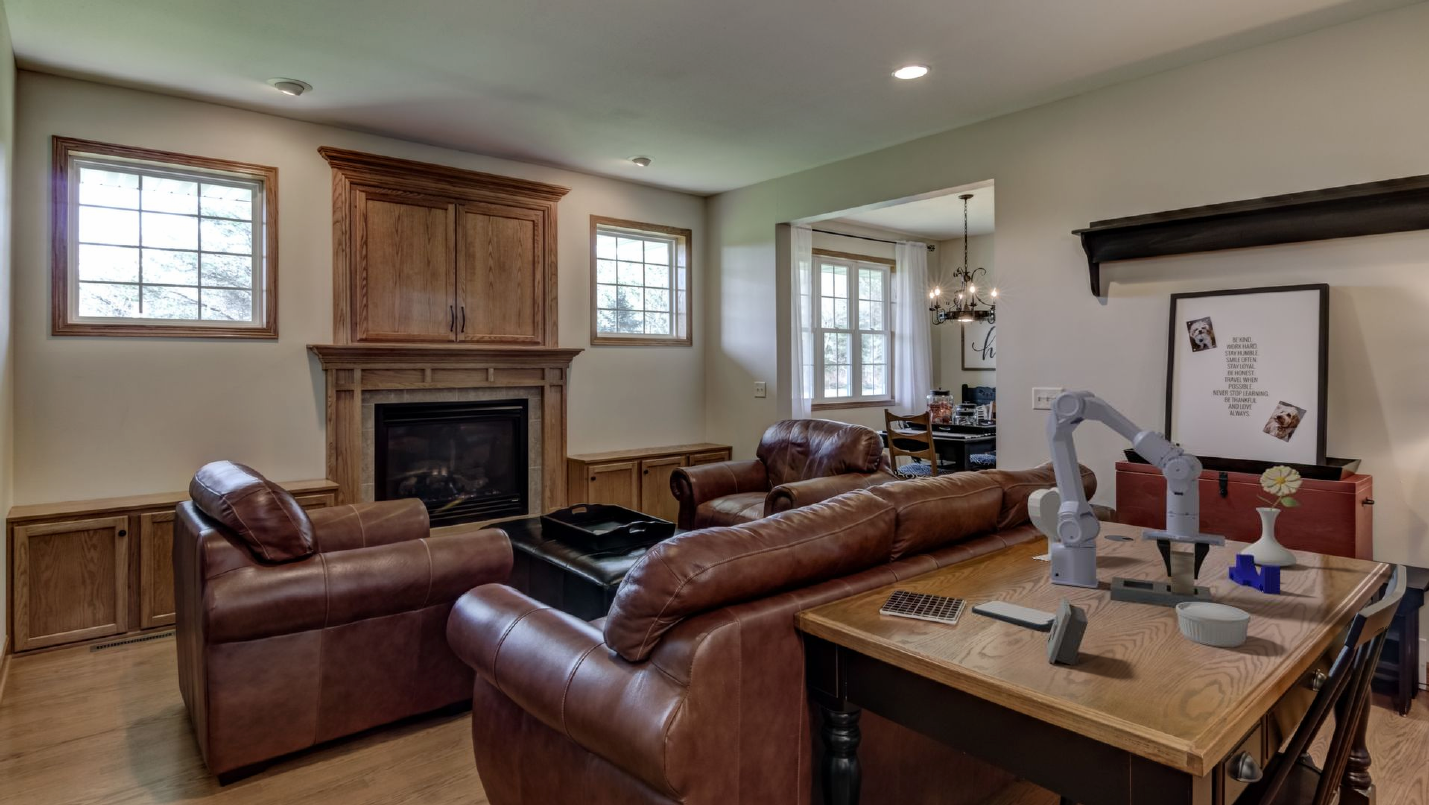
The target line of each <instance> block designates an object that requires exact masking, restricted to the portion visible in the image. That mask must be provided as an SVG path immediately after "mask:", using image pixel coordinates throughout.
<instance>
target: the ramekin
mask: <svg viewBox="0 0 1429 805" xmlns="http://www.w3.org/2000/svg"><path fill="white" fill-rule="evenodd" d="M1175 612H1176V614H1177V618H1178V619H1177V620H1178V624H1179V625H1178V626H1179V629H1180V632H1181V635H1183V637H1184V638H1186V639H1188V640H1189V641H1192V642H1195V643H1198V644H1201V645H1206V646H1211V647H1218V648H1220V647H1221V648H1235V647H1240V646H1241V645H1242V644H1244V643H1245V641H1246V639H1247V634H1248V628H1249V624H1250V623H1251V615H1250V614H1249V613H1248V612H1247V611H1245V610H1244V609H1240V608H1237V607H1235V606H1230V605H1226V604H1221V603H1215V602H1212V603H1206V602H1185V603H1180V604H1178V605H1177V606H1176V607H1175Z"/></svg>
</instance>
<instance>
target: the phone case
mask: <svg viewBox="0 0 1429 805" xmlns="http://www.w3.org/2000/svg"><path fill="white" fill-rule="evenodd" d="M971 613H973V614H976V615H979V616H982V617H983V616H984V617H986V618H989V619H994V620H997V621H1000V622H1005V623H1009V624H1012V625H1015V626H1017V627H1023V628H1024V629H1025V628H1026V629H1029V630H1034V631H1036V632H1042V633H1043V632H1050V631H1051V628H1052V625H1053V622H1054V619H1055V616H1056V613H1051V612H1047V611H1044V610H1043V611H1042V610H1038V609H1033V608H1031V607H1030V608H1029V607H1025V606H1021V605H1016V604H1013V603H1009V602H1004V601H1000V600H990V601H987V602H983V603H981V604H980V603H979V604H977V605H974V606H972V607H971Z"/></svg>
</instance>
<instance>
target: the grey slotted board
mask: <svg viewBox="0 0 1429 805" xmlns="http://www.w3.org/2000/svg"><path fill="white" fill-rule="evenodd" d="M1111 579H1112V580H1111V584H1110V600H1111V601H1113V600H1114V601H1120V600H1123V601H1122V602H1129V603H1136V602H1140V603H1139V604H1144V603H1146V605H1147V603H1148V605H1154V606H1161V605H1165V606H1164V607H1169V608H1176V606H1177V605H1178V604H1180V603H1185V602H1206V603H1213V596H1212V593H1211V588H1210V586H1202V585H1201V586H1199V585H1194V595H1193V594H1185V593H1176V592H1171V582H1165V581H1164V582H1163V581H1154V580H1146V579H1138V578H1137V579H1136V578H1127V577H1119V576H1113V577H1112V578H1111Z"/></svg>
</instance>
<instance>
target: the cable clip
mask: <svg viewBox="0 0 1429 805" xmlns="http://www.w3.org/2000/svg"><path fill="white" fill-rule="evenodd" d="M1235 565H1236V566H1229V567H1228V580H1230V579H1231V581H1232V582H1234V583H1236V584H1238V585H1240V586H1243V587H1251V588H1253V589H1255V590H1257V591H1259V592H1260V591H1261V593H1262V591H1263V593H1262V594H1265V595H1267V594H1268V595H1281V566H1273V565H1260V572H1258V570H1257V568H1256V563H1255V562H1254V556H1253V555H1251V554H1241V553H1236V554H1235ZM1244 585H1245V586H1244ZM1246 585H1248V586H1246Z"/></svg>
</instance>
